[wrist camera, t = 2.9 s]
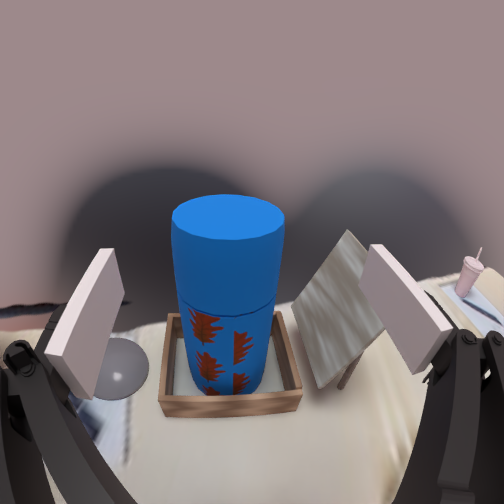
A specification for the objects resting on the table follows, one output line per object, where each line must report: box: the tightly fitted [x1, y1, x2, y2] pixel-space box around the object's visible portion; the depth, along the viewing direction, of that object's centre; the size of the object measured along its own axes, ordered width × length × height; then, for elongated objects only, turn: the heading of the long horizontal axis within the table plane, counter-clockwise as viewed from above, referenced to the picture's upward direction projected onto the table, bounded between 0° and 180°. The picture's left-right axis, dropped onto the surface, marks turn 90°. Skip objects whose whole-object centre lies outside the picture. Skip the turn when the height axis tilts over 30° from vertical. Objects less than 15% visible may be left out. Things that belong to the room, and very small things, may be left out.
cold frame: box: [158, 230, 385, 418], centre depth 34 cm, size 26×16×20 cm, turn 97°
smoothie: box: [455, 247, 484, 298], centre depth 53 cm, size 6×6×14 cm
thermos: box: [171, 194, 284, 396], centre depth 32 cm, size 11×11×25 cm
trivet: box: [93, 338, 149, 400], centre depth 36 cm, size 12×12×1 cm
